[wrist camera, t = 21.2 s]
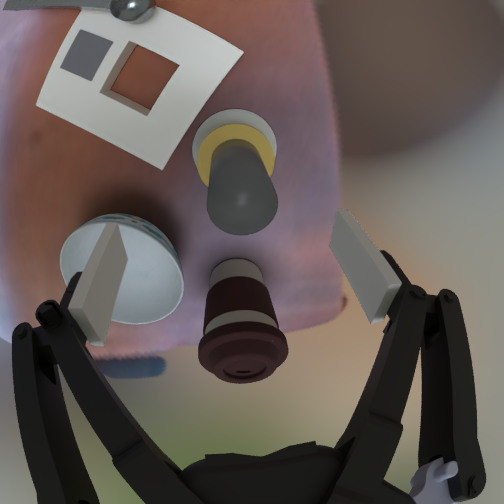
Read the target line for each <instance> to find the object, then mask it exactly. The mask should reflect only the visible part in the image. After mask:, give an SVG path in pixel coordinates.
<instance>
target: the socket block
mask: <svg viewBox="0 0 504 504" xmlns="http://www.w3.org/2000/svg"><path fill="white" fill-rule="evenodd" d="M137 44H138V45H140V46H142V47H145V48H147V49H149V50H151V51H153V52H155V53H157V54H159V55H161V56H163V57H165V58H167V59H169V60H171V61H173V62H175V63H177V64H179V65H180V66H179V67H178V69H177V70H176V71H175V73H174V74H173V76H172V77H171V79H170V80H169V82H168V83H167V85H166V86H165V88H164V90H163V91H162V93H161V94H160V96H159V98H158V99H157V101H156V102H155V104H154V106H153V107H152V109H151V110H149V109H147V108H145V107H144V106H142V105H140V104H138V103H136V102H134V101H132V100H130V99H128V98H126V97H124V96H122V95H120V94H118V93H116V92H114V91H112V90H110V89H111V87H112V85H113V84H114V82H115V80H116V78H117V76H118V75H119V73H120V71H121V69H122V68H123V66H124V64H125V63H126V61H127V59H128V58H129V56H130V55H131V53H132V51H133V50H134V48H135V47H136V45H137ZM243 53H244V52H243V51H241V50H240V49H238V48H237V47H235V46H233V45H232V44H230V43H228V42H227V41H225V40H223V39H221V38H220V37H218V36H216V35H214V34H213V33H211V32H209V31H207V30H205V29H203V28H201V27H199V26H198V25H196V24H194V23H192V22H190V21H188V20H186V19H184V18H181V17H179V16H177V15H175V14H173V13H171V12H168V11H166V10H164V9H162V8H159V7H157V6H155V10H154V12H153V13H152V15H151V16H150V17H149V18H148V19H146V20H144V21H143V22H140V23H136V24H130V23H127V22H124V21H122V20H120V19H117V18H115V17H114V16H113V15H112V14H111V12H104V11H94V10H82V11H81V12H80V14H79V15H78V17H77V19H76V20H75V22H74V24H73V25H72V27H71V29H70V31H69V32H68V34H67V36H66V38H65V40H64V41H63V43H62V45H61V47H60V49H59V51H58V53H57V55H56V57H55V59H54V62H53V64H52V66H51V68H50V70H49V73H48V75H47V77H46V80H45V82H44V84H43V87H42V90H41V92H40V95H39V97H38V100H37V103H36V106H38V107H40V108H42V109H44V110H46V111H48V112H50V113H52V114H54V115H56V116H58V117H60V118H62V119H65V120H67V121H69V122H71V123H73V124H75V125H77V126H79V127H81V128H83V129H85V130H86V131H88V132H90V133H92V134H94V135H96V136H98V137H100V138H102V139H104V140H106V141H108V142H110V143H112V144H114V145H116V146H118V147H120V148H121V149H123V150H125V151H127V152H129V153H131V154H133V155H135V156H137V157H139V158H140V159H142V160H144V161H146V162H148V163H150V164H152V165H154V166H155V167H157V168H159V169H161V170H163V168H164V167H165V165H166V163H167V162H168V160H169V158H170V157H171V155H172V153H173V152H174V150H175V148H176V147H177V145H178V144H179V142H180V140H181V139H182V137H183V136H184V134H185V132H186V131H187V129H188V128H189V126H190V125H191V123H192V122H193V120H194V119H195V117H196V116H197V114H198V113H199V111H200V110H201V109H202V107H203V106H204V104H205V103H206V101H207V100H208V99H209V97H210V96H211V94H212V93H213V92H214V90H215V89H216V88H217V86H218V85H219V84H220V82H221V81H222V80H223V78H224V77H225V76H226V74H227V73H228V72H229V70H230V69H231V68H232V67H233V65H234V64H235V63H236V62H237V60H238V59H239V58H240V57H241V55H242V54H243Z"/></svg>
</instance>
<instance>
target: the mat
mask: <svg viewBox="0 0 504 504" xmlns="http://www.w3.org/2000/svg"><path fill="white" fill-rule="evenodd" d="M230 123H242V124H247V125H250V126H252V127H254V128H256V129H258V130H259V131H260V132H262V133H263V134H264V135H265V137H266V138H267V139H268V141H269V142H270V144H271V146H272V149H273V152H274V159H275V157H276V150H277V146H276V139H275V136H274V133H273V131H272V129H271V128H270V126H269V125H268V124H267V122H266V121H265V120H264V119H262V118H261V117H260V116H258V115H257V114H255V113H253V112H250V111H247V110H242V109H228V110H224V111H220V112H218V113H216V114H214V115H212V116H210V117H209V118H208V119H206V120H205V121H204V122H203V123H202V125H201V126H200V127H199V129H198V131H197V132H196V135H195V137H194V141H193V146H192V154H193V159H194V162H195V165H196V167H197V155H198V151H199V148H200V145H201V143H202V141H203V140H204V139H205V137H206V136H207V135H208V134H209V133H210V132H211V131H213V130H214V129H216V128H218V127H220V126H222V125H225V124H230Z"/></svg>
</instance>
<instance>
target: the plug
mask: <svg viewBox="0 0 504 504" xmlns="http://www.w3.org/2000/svg"><path fill="white" fill-rule="evenodd" d="M274 161H275V159H274V152H273V149H272V146H271V144H270V142H269V141H268V139H267V138H266V137H265V135H264V134H263V133H262V132H260V131H259V130H258V129H256V128H254V127H252V126H250V125H247V124H242V123H230V124H225V125H222V126H220V127H218V128H216V129H214V130H213V131H211V132H210V133H209V134H208V135H207V136H206V137H205V139H204V140H203V141H202V143H201V145H200V148H199V151H198V155H197V169H198V173H199V175H200V177H201V179H202V181H203V182H204V183H205V185H206V186H207V187H208V198H207V210H208V214H209V217H210V219H211V220H212V222H213V223H214V224H215V225H216V226H217V227H218V228H219V229H221V230H222V231H224V232H226V233H229V234H233V235H249V234H253V233H256V232H258V231H260V230H262V229H263V228H265V227H266V226H267V225H268V224H269V223H270V222H271V221H272V220H273V218H274V216H275V214H276V212H277V208H278V198H277V194H276V191H275V189H274V186H273V184H272V182H271V179H270V176H271V174H272V172H273V168H274Z"/></svg>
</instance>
